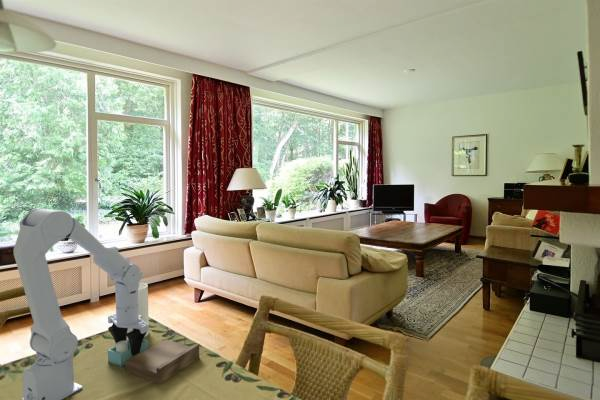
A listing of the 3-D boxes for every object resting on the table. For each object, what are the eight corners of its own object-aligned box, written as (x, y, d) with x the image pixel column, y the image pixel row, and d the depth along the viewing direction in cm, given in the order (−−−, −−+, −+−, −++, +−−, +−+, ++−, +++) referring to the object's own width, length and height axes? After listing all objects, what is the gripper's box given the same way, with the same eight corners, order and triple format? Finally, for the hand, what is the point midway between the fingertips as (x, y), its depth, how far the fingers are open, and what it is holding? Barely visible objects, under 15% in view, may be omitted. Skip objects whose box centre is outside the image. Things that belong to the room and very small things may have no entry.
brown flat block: (160, 383, 89) (159, 368, 89) (125, 370, 95) (124, 355, 95) (199, 357, 102) (199, 344, 101) (166, 347, 108) (166, 334, 107)
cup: (153, 329, 119) (152, 283, 117) (140, 341, 111) (138, 291, 109) (130, 328, 120) (128, 281, 118) (115, 340, 111) (113, 290, 110)
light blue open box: (121, 367, 97) (120, 349, 96) (108, 361, 99) (107, 344, 98) (148, 351, 105) (148, 335, 104) (135, 347, 107) (135, 331, 106)
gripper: (157, 305, 101) (158, 351, 102) (122, 296, 107) (124, 339, 108) (135, 314, 94) (137, 363, 96) (100, 304, 101) (102, 350, 102)
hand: (128, 351), depth 102 cm, fingers closed on light blue open box, 5 cm apart
